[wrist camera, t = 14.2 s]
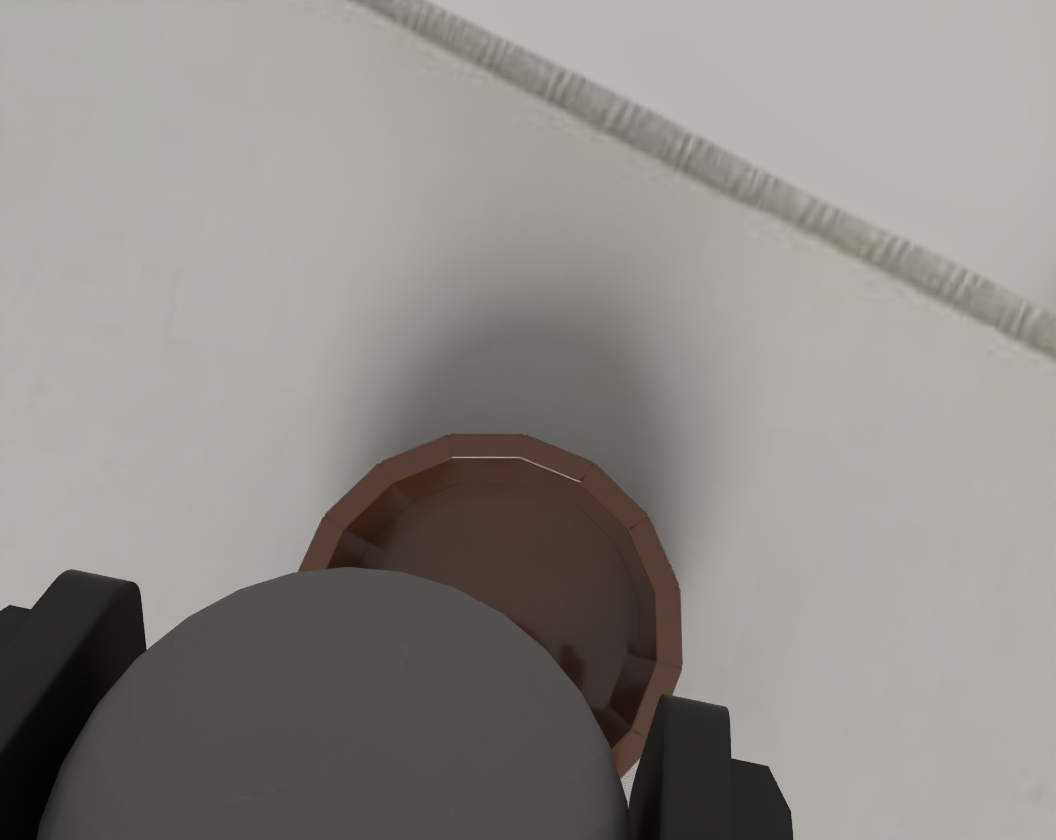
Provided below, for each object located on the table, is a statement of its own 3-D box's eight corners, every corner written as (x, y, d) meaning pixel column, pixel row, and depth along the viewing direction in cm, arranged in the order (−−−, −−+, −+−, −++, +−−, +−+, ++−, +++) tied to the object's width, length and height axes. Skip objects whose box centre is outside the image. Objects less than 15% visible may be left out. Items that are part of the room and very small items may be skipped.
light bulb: (414, 1040, 16) (243, 1644, 7) (174, 772, 17) (-291, 948, 7) (662, 767, 17) (835, 940, 7) (422, 525, 18) (295, 396, 8)
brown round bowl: (580, 415, 32) (588, 377, 28) (713, 720, 30) (746, 738, 26) (280, 537, 32) (234, 519, 27) (396, 858, 30) (369, 904, 25)
